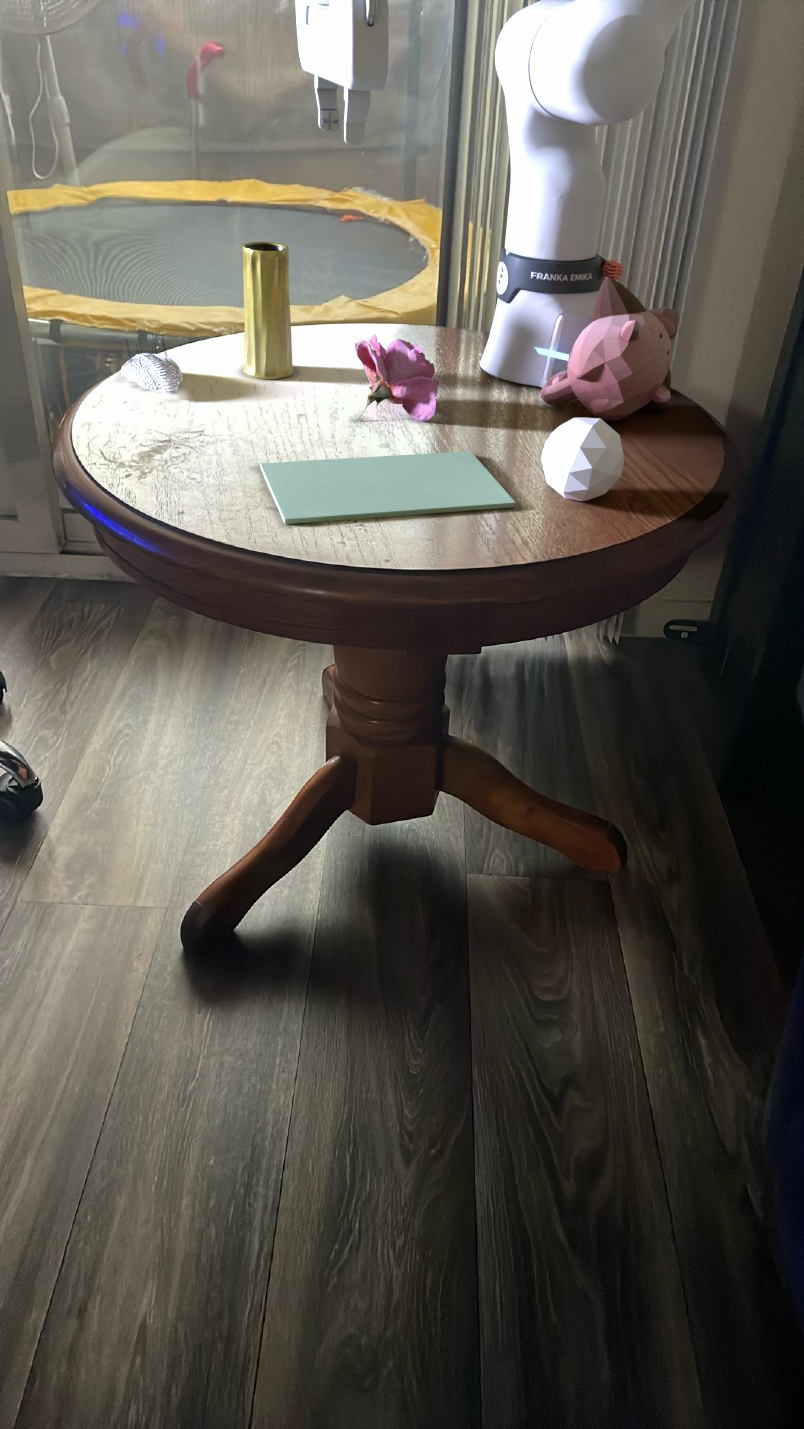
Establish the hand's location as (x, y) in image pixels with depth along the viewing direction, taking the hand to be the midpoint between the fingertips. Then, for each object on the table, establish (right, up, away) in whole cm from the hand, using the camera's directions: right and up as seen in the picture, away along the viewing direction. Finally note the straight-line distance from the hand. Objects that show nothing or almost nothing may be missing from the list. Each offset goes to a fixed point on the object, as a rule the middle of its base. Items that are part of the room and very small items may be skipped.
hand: (340, 136), depth 99 cm
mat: (+4, -34, 0) cm, 34 cm away
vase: (-10, -14, +27) cm, 32 cm away
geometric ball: (+23, -35, +1) cm, 41 cm away
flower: (+5, -21, +18) cm, 28 cm away
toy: (+25, -20, +16) cm, 36 cm away
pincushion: (-23, -17, +21) cm, 36 cm away
